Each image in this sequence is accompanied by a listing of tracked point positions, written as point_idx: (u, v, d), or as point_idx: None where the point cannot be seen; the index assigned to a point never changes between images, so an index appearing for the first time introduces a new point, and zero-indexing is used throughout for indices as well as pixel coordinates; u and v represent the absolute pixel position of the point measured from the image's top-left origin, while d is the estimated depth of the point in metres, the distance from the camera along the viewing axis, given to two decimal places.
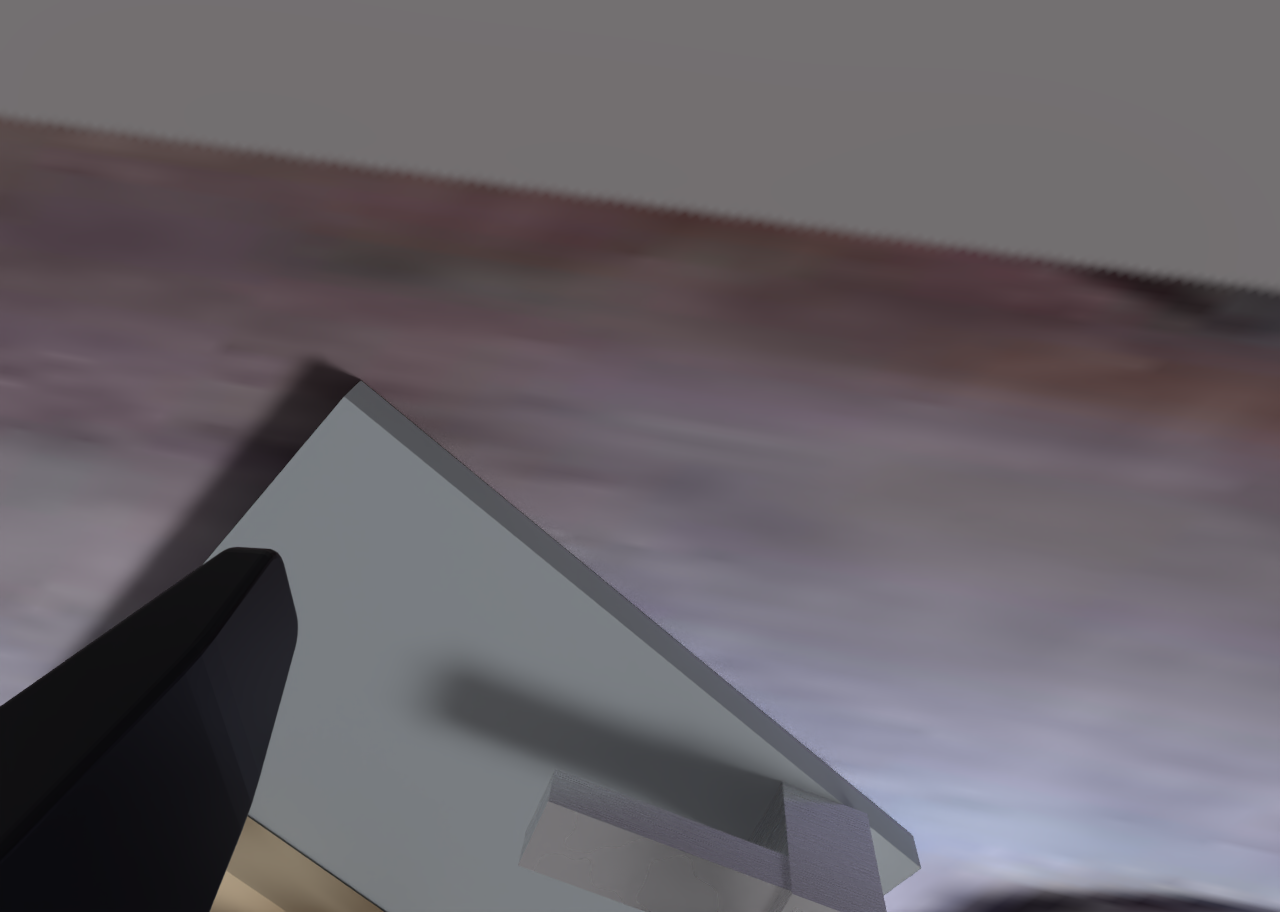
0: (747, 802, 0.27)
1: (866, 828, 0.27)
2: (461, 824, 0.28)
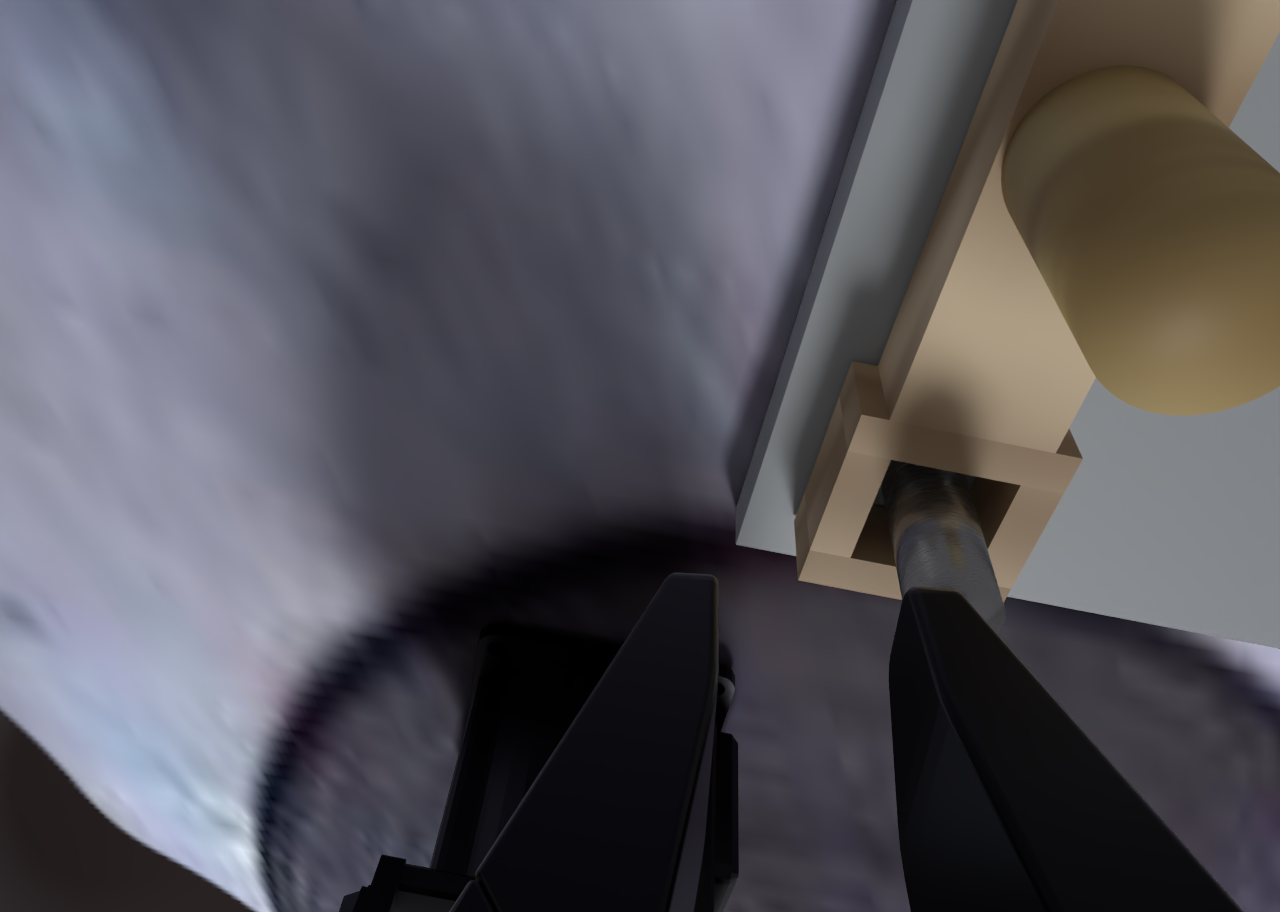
0: None
1: None
2: None
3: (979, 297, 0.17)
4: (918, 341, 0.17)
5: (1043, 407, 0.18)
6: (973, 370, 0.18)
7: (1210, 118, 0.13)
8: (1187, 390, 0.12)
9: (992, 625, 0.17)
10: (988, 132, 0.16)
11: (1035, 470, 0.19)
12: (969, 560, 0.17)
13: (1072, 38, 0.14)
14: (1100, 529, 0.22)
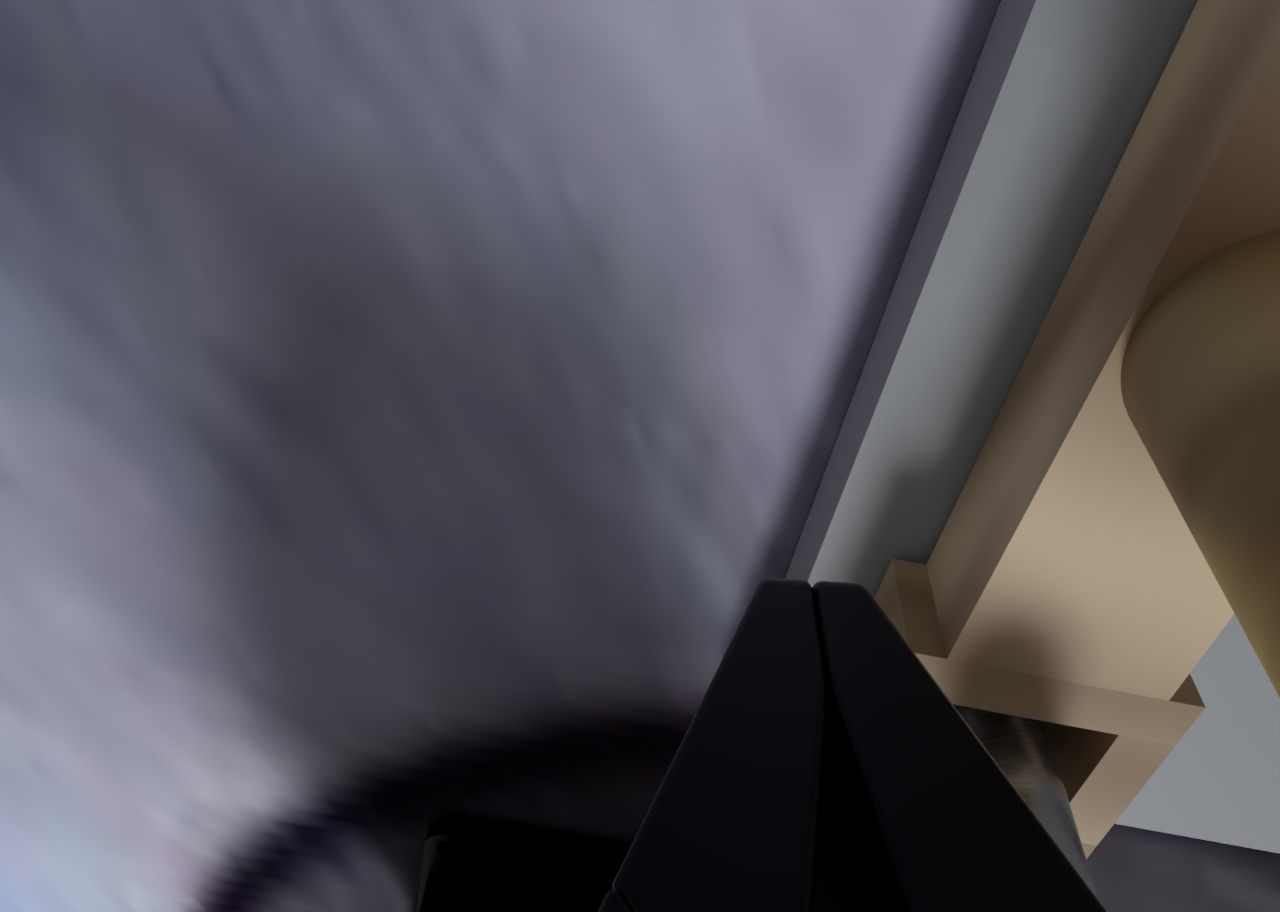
0: None
1: None
2: None
3: (1079, 518, 0.12)
4: (991, 567, 0.13)
5: (1157, 649, 0.13)
6: (1064, 604, 0.13)
7: None
8: None
9: None
10: (1098, 301, 0.11)
11: (1140, 719, 0.14)
12: None
13: (1242, 189, 0.10)
14: (1204, 748, 0.17)
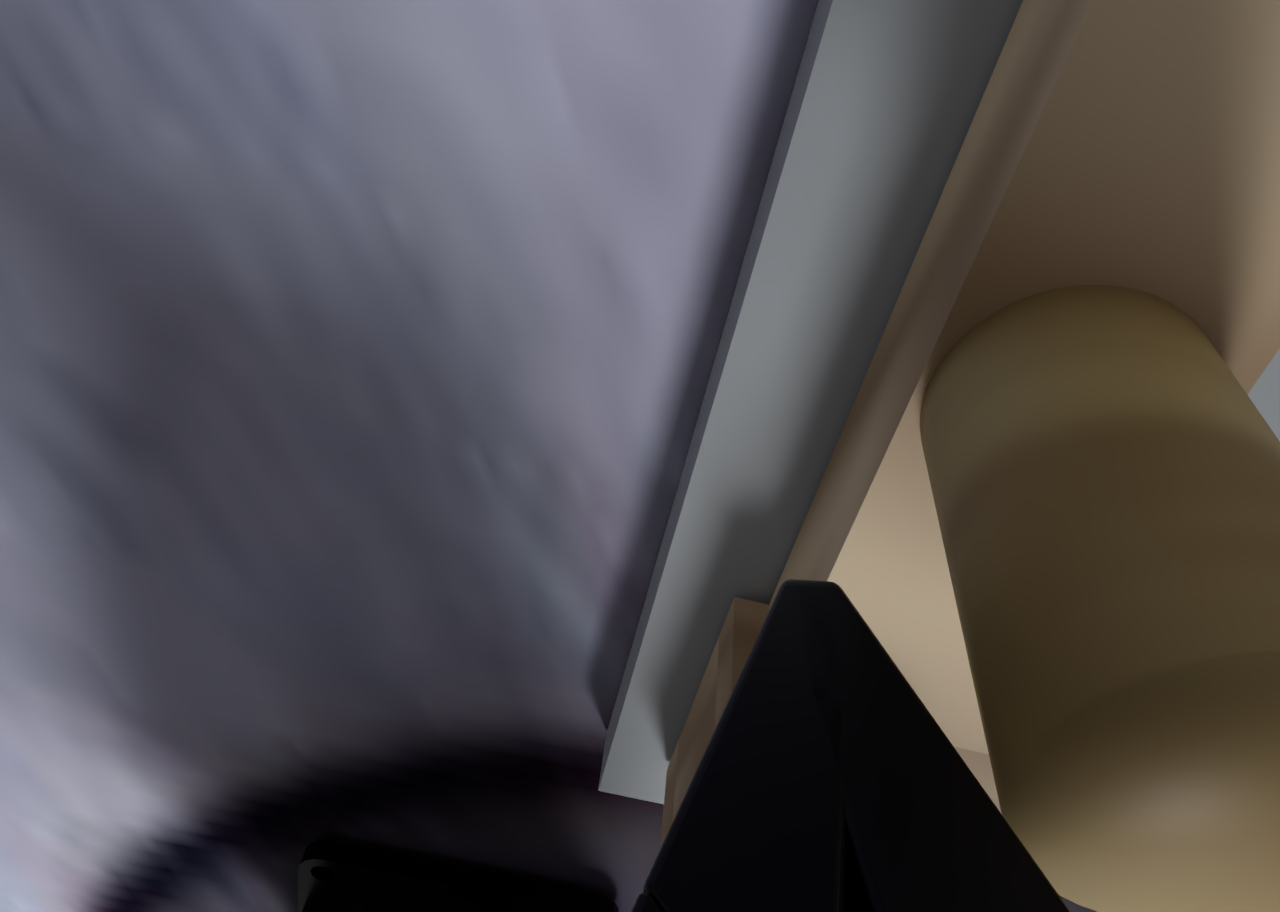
0: None
1: None
2: None
3: (890, 570, 0.12)
4: None
5: None
6: None
7: (1236, 418, 0.08)
8: (1180, 897, 0.07)
9: None
10: (906, 350, 0.11)
11: None
12: None
13: (1027, 243, 0.09)
14: None
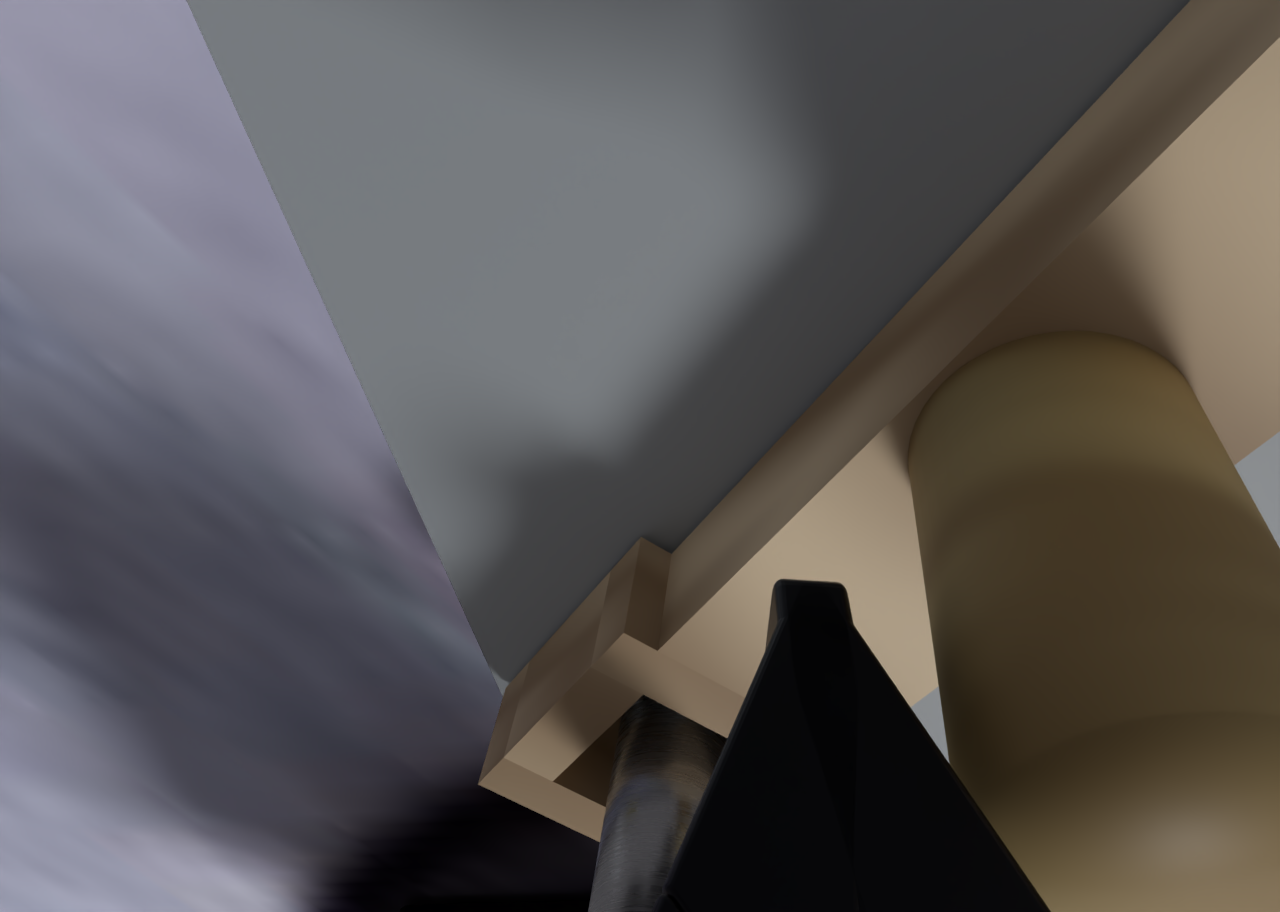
0: None
1: None
2: None
3: (828, 551, 0.12)
4: (730, 574, 0.12)
5: None
6: None
7: (1248, 500, 0.08)
8: None
9: None
10: (919, 345, 0.11)
11: None
12: (644, 867, 0.13)
13: (1087, 279, 0.09)
14: None
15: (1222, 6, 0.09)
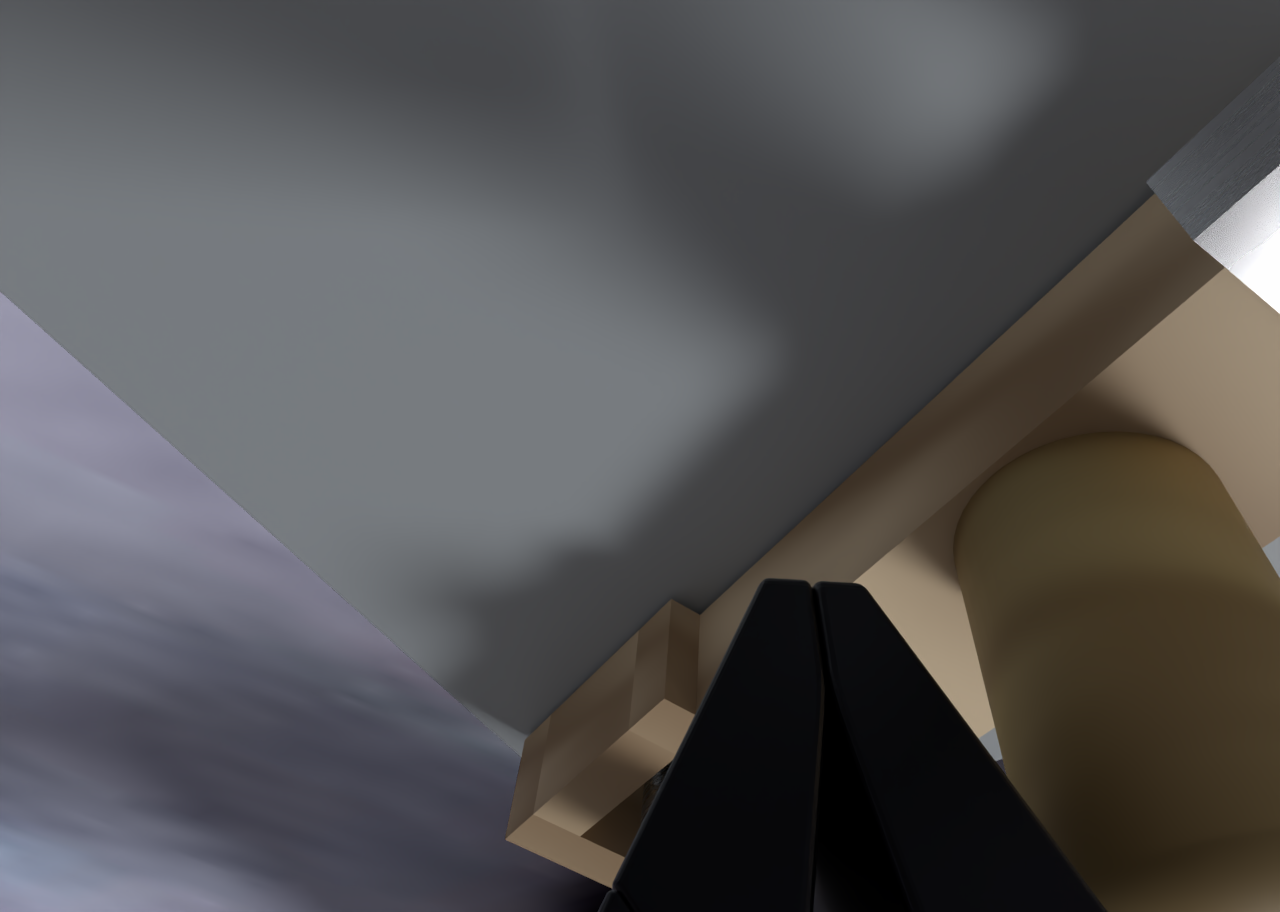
0: None
1: None
2: (790, 219, 0.11)
3: None
4: None
5: None
6: None
7: None
8: None
9: None
10: (965, 434, 0.11)
11: None
12: None
13: (1135, 386, 0.10)
14: None
15: None
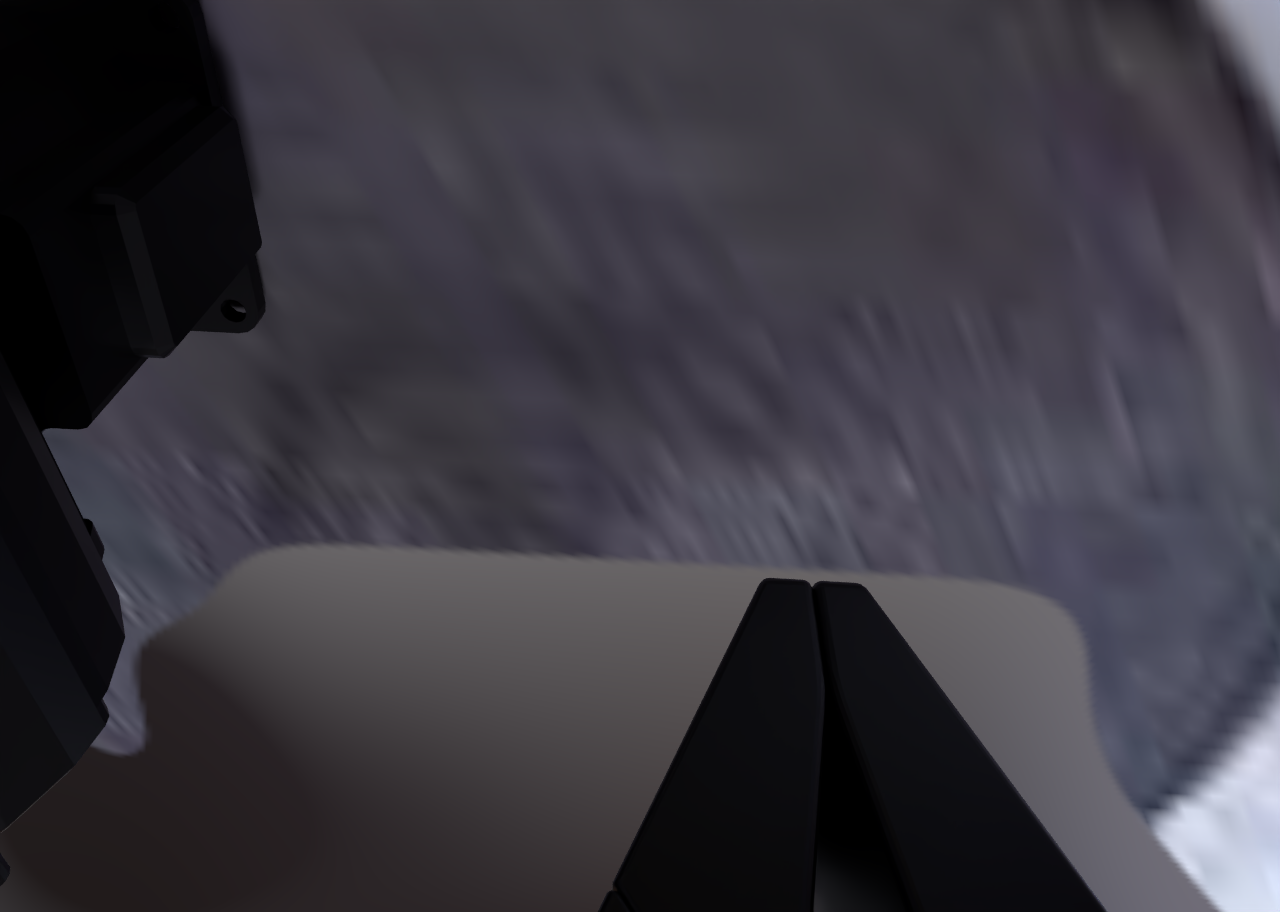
0: None
1: None
2: None
3: None
4: None
5: None
6: None
7: None
8: None
9: None
10: None
11: None
12: None
13: None
14: None
15: None
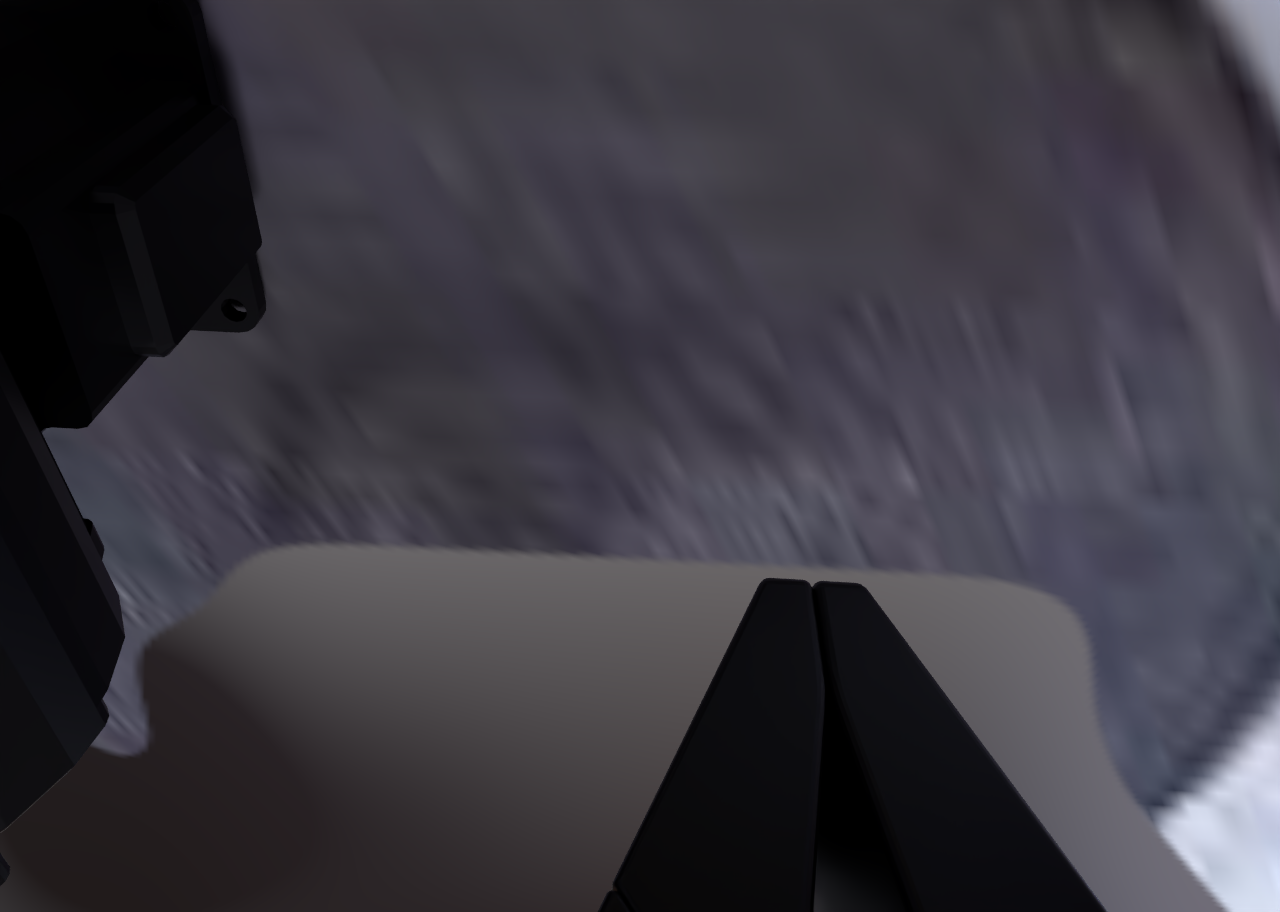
0: None
1: None
2: None
3: None
4: None
5: None
6: None
7: None
8: None
9: None
10: None
11: None
12: None
13: None
14: None
15: None
